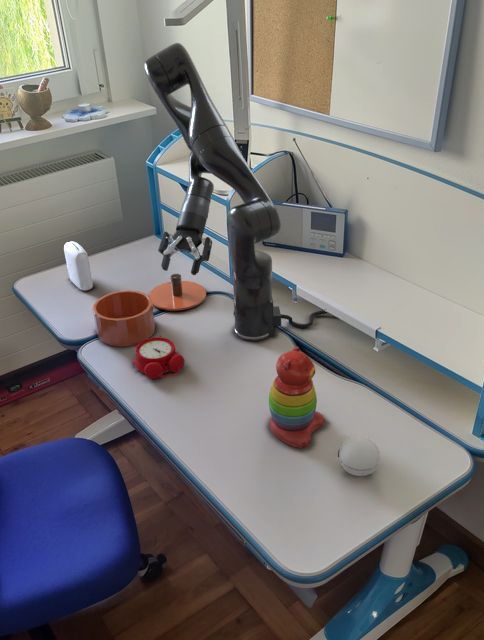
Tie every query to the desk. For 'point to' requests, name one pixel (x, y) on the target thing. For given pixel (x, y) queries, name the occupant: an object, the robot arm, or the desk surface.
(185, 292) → the lid
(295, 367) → the stacking bear
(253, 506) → the desk surface
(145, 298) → the orange cylindrical pot
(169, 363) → the alarm clock
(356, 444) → the seamed sphere
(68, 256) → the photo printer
